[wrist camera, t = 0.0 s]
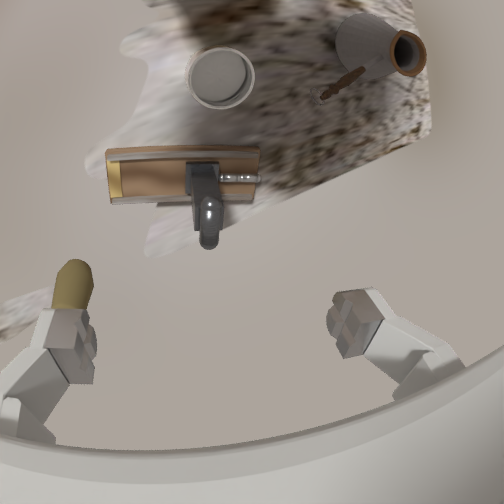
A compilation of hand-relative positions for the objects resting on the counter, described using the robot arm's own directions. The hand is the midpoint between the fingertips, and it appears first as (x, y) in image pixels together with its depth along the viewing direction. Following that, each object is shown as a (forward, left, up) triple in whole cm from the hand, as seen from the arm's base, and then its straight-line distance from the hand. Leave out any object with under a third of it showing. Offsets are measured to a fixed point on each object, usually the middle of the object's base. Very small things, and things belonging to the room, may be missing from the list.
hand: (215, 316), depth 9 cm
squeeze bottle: (+33, -22, -39) cm, 56 cm away
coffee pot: (-9, +22, -39) cm, 46 cm away
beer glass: (-4, +3, -39) cm, 39 cm away
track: (+13, 0, -39) cm, 41 cm away
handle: (+13, +7, -37) cm, 40 cm away
